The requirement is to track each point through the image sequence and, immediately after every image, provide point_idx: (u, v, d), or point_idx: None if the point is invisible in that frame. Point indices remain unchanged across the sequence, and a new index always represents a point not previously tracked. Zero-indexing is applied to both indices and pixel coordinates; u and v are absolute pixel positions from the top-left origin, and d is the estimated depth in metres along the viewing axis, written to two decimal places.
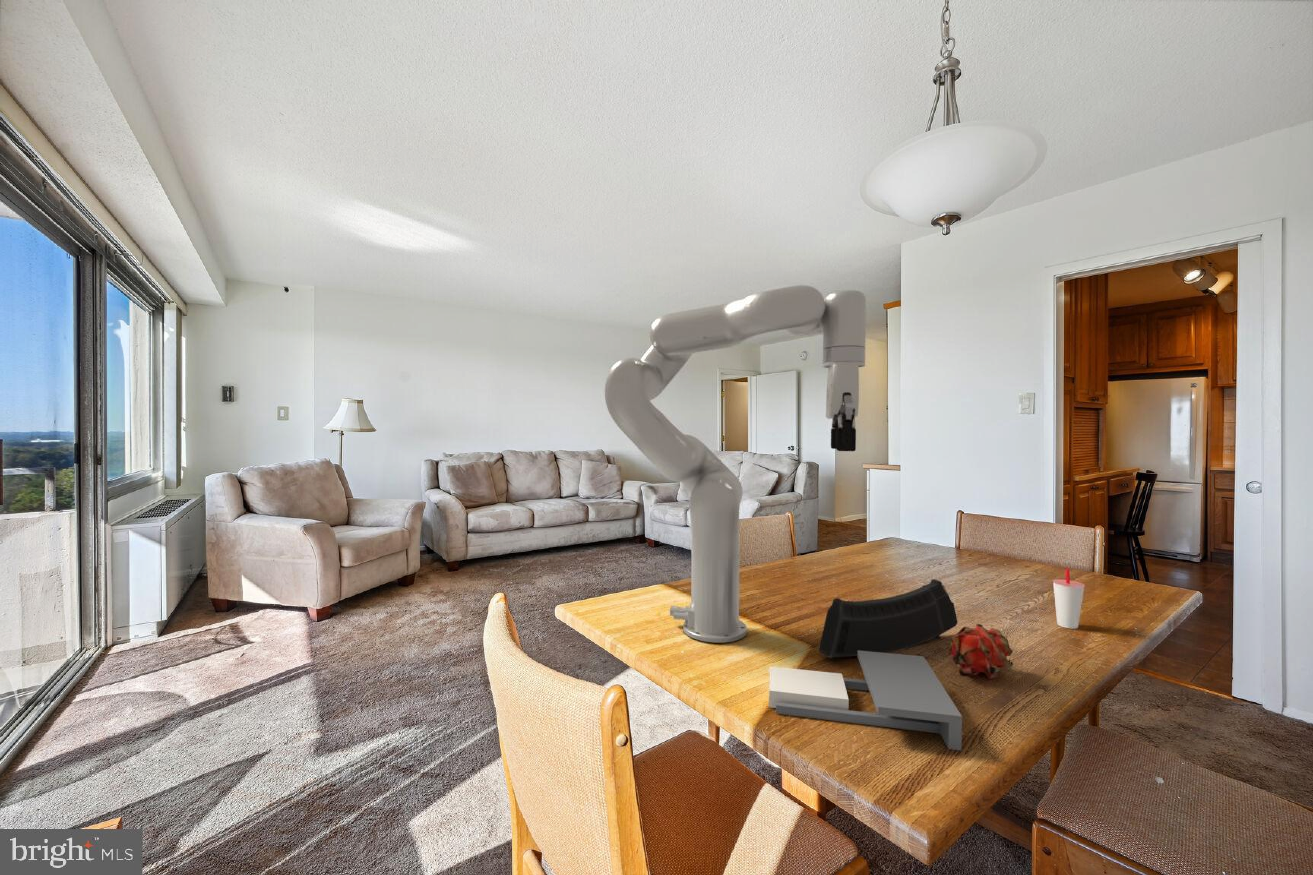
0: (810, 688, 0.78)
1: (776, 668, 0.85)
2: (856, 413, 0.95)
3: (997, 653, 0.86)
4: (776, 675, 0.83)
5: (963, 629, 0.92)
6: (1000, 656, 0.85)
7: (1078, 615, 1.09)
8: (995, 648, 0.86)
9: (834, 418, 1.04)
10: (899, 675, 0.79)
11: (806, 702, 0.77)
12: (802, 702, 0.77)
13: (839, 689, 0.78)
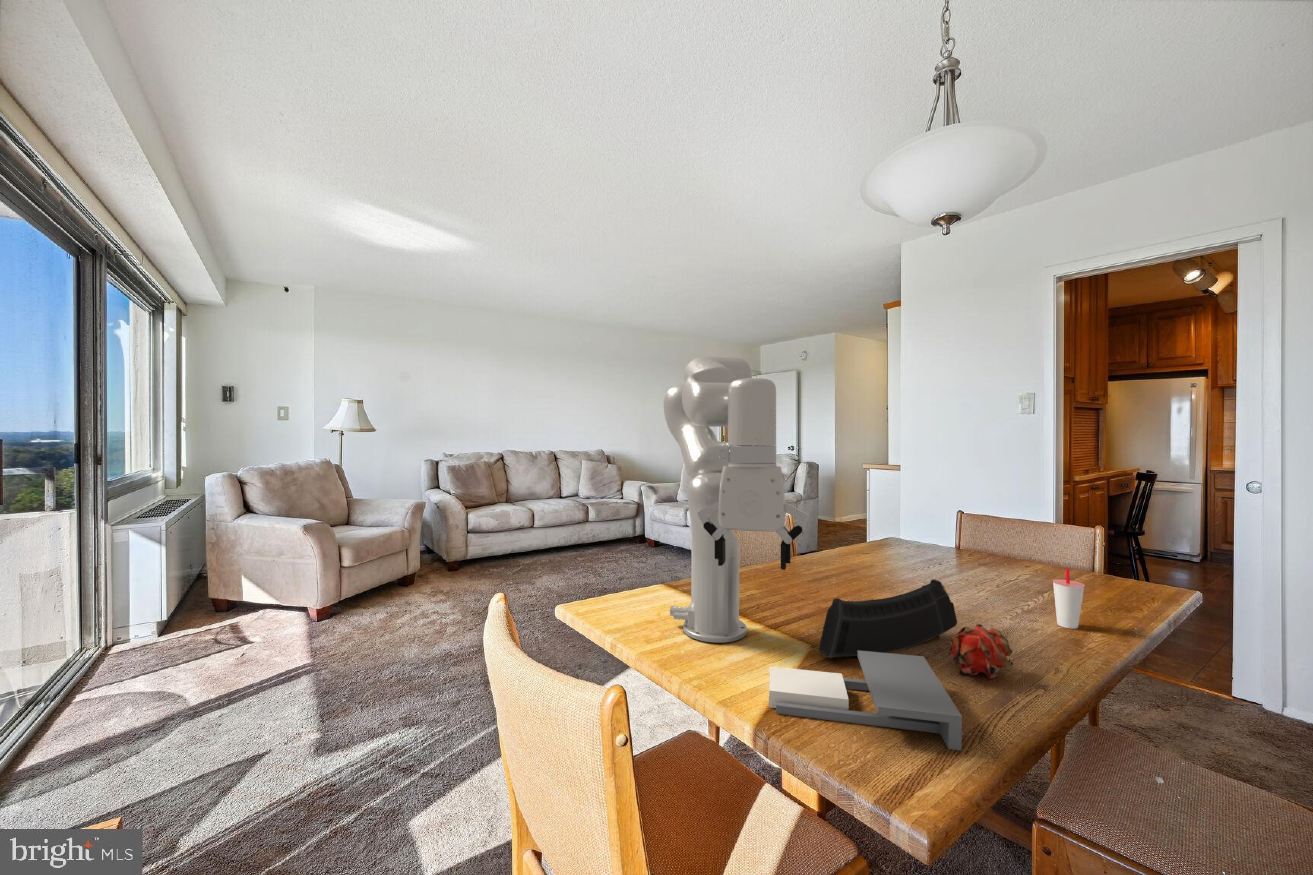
0: (810, 688, 0.78)
1: (776, 668, 0.85)
2: None
3: (997, 653, 0.86)
4: (776, 675, 0.83)
5: (963, 629, 0.92)
6: (1000, 656, 0.85)
7: (1078, 615, 1.09)
8: (995, 648, 0.86)
9: None
10: (899, 675, 0.79)
11: (806, 702, 0.77)
12: (802, 702, 0.77)
13: (839, 689, 0.78)
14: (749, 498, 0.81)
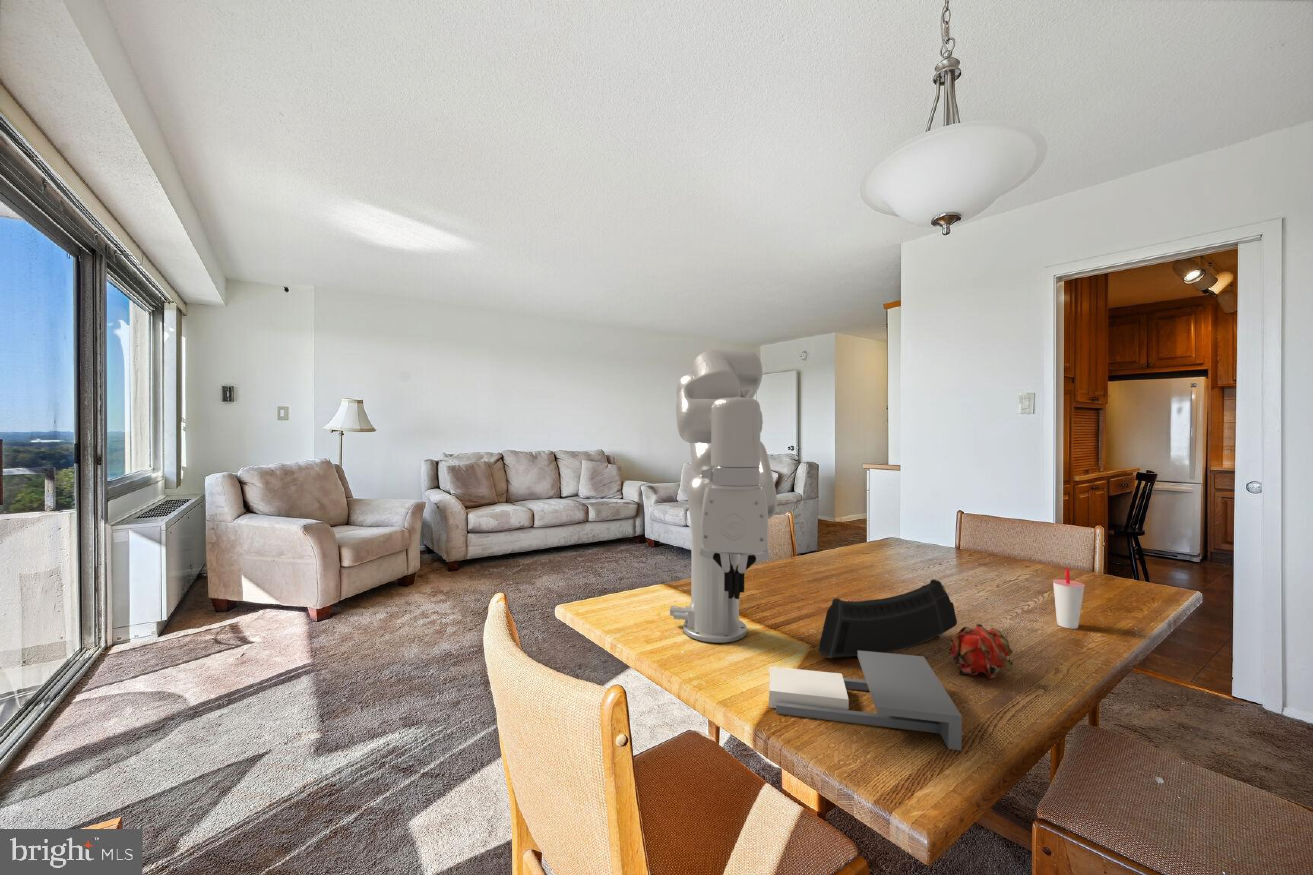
0: (810, 688, 0.78)
1: (776, 668, 0.85)
2: None
3: (997, 653, 0.86)
4: (776, 675, 0.83)
5: (963, 629, 0.92)
6: (1000, 656, 0.85)
7: (1078, 615, 1.09)
8: (995, 648, 0.86)
9: None
10: (899, 675, 0.79)
11: (806, 702, 0.77)
12: (802, 702, 0.77)
13: (839, 689, 0.78)
14: (732, 521, 0.80)
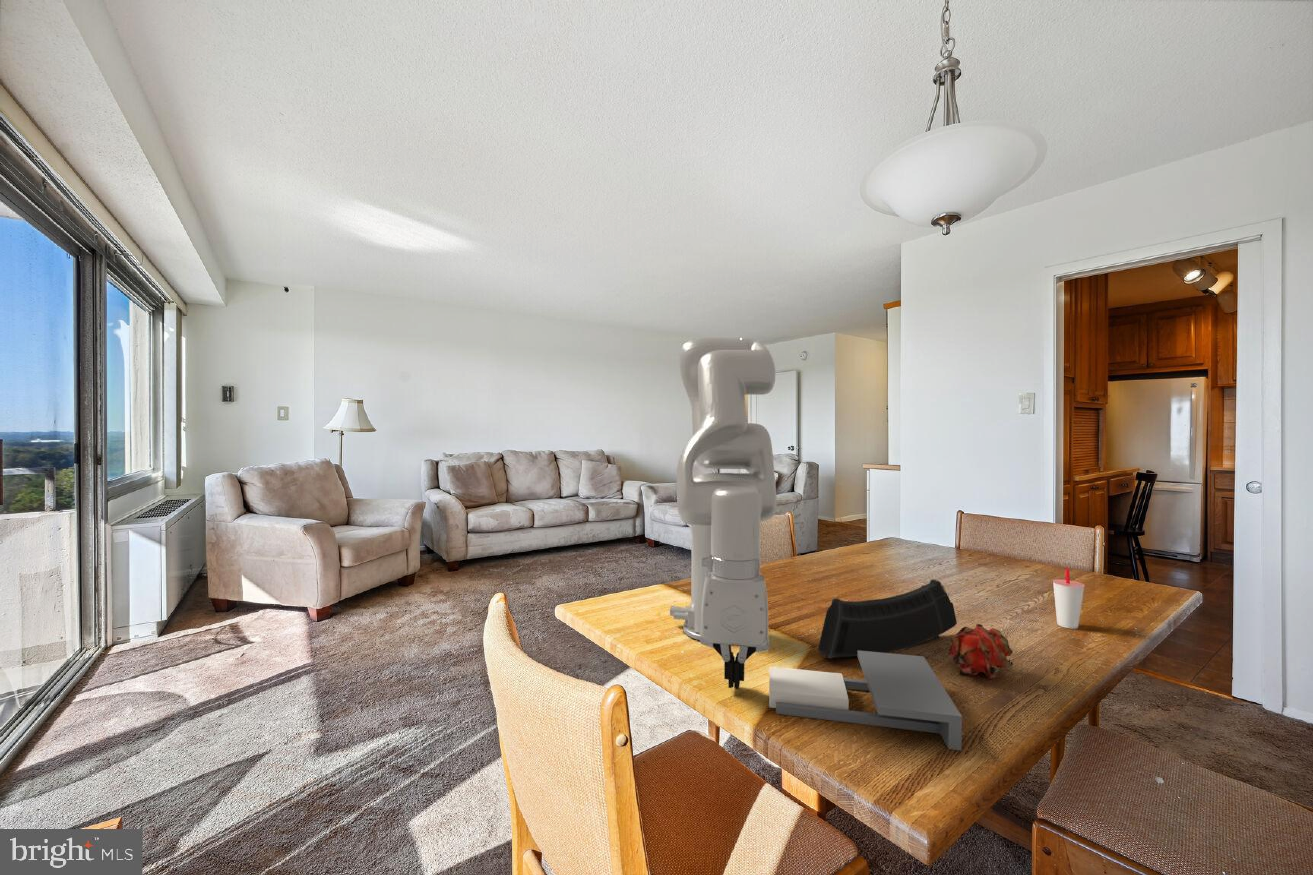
0: (810, 688, 0.78)
1: (776, 668, 0.85)
2: None
3: (997, 653, 0.86)
4: (776, 675, 0.83)
5: (963, 629, 0.92)
6: (1000, 656, 0.85)
7: (1078, 615, 1.09)
8: (995, 648, 0.86)
9: None
10: (899, 675, 0.79)
11: (806, 702, 0.77)
12: (802, 702, 0.77)
13: (839, 689, 0.78)
14: (732, 612, 0.80)
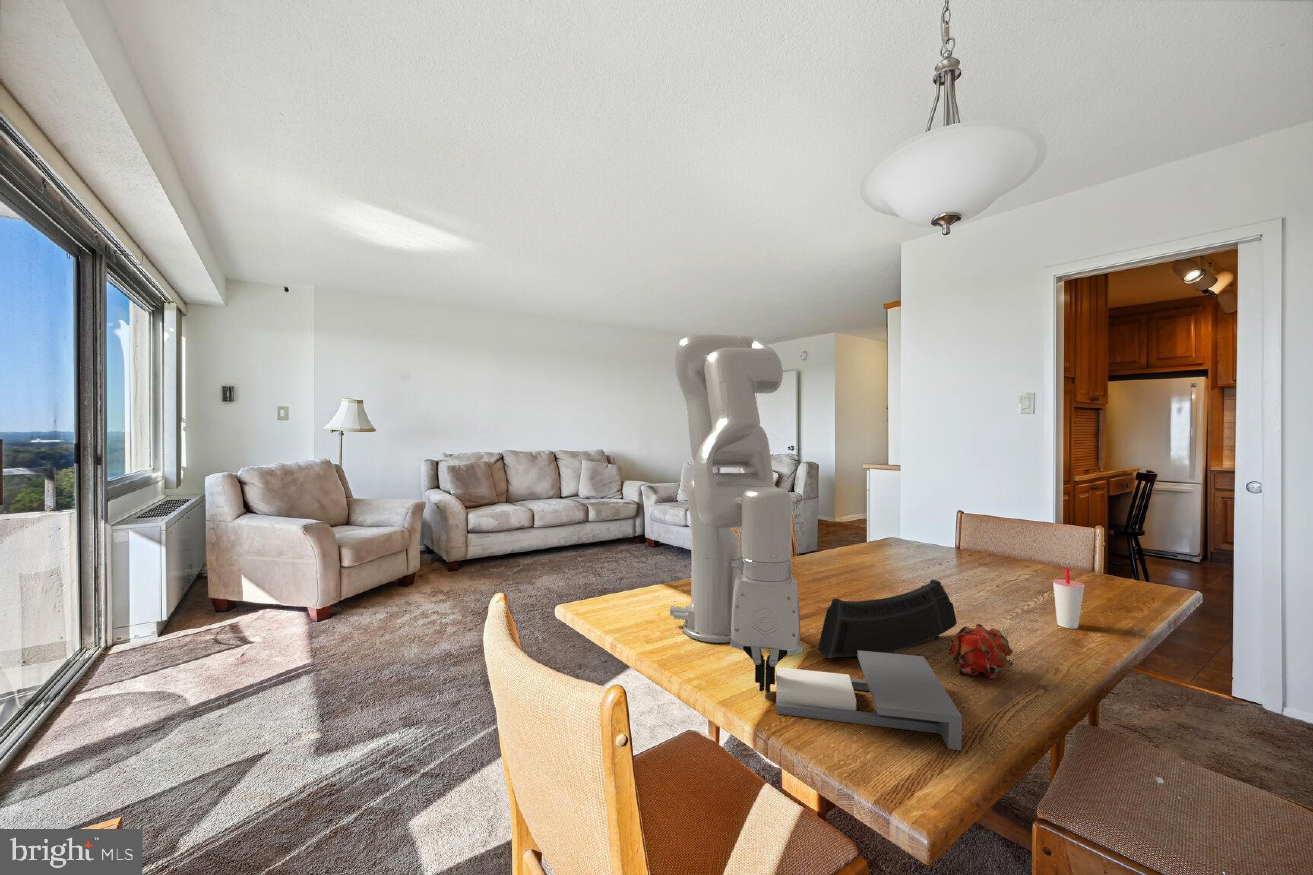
0: (817, 689, 0.78)
1: (783, 669, 0.85)
2: None
3: (997, 653, 0.86)
4: (783, 675, 0.82)
5: (963, 629, 0.92)
6: (1000, 656, 0.85)
7: (1078, 615, 1.09)
8: (995, 648, 0.86)
9: None
10: (899, 675, 0.79)
11: (813, 703, 0.76)
12: (809, 703, 0.77)
13: (846, 690, 0.78)
14: (764, 615, 0.79)
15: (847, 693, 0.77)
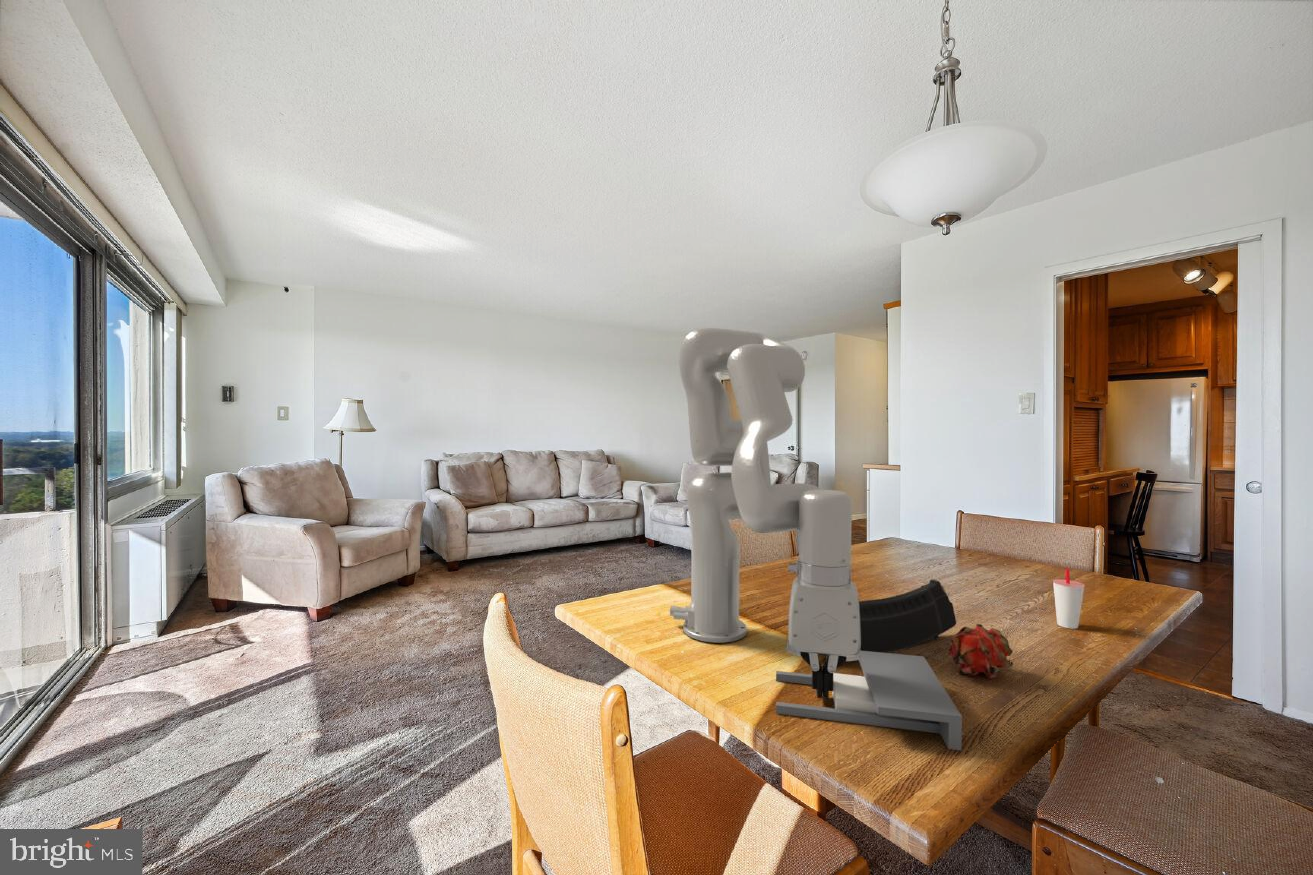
0: None
1: (839, 675, 0.83)
2: None
3: (997, 653, 0.86)
4: (840, 682, 0.81)
5: (963, 629, 0.92)
6: (1000, 656, 0.85)
7: (1078, 615, 1.09)
8: (995, 648, 0.86)
9: None
10: (899, 675, 0.79)
11: (875, 710, 0.75)
12: (871, 710, 0.75)
13: None
14: (824, 620, 0.77)
15: None
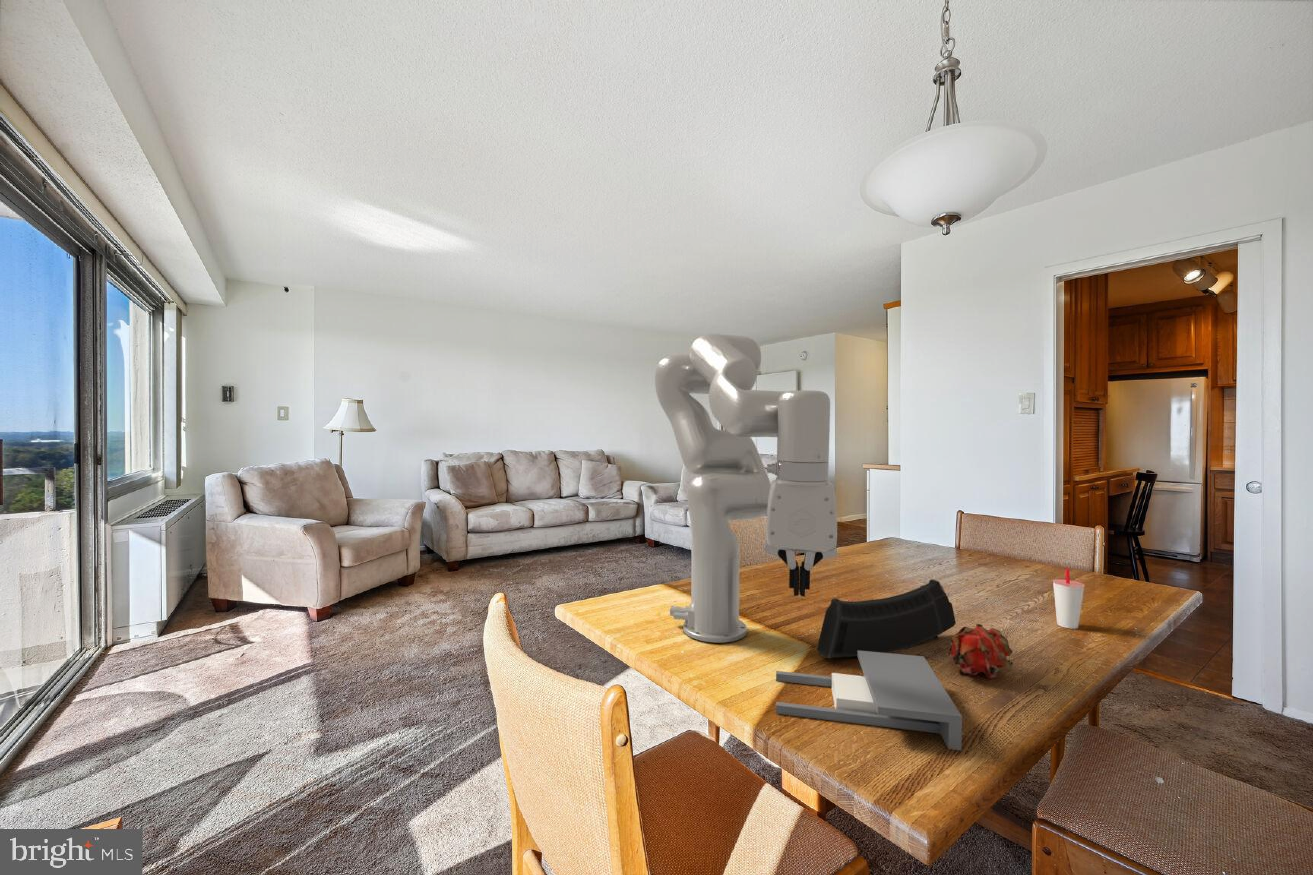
0: None
1: (839, 675, 0.83)
2: None
3: (997, 653, 0.86)
4: (840, 682, 0.81)
5: (963, 629, 0.92)
6: (1000, 656, 0.85)
7: (1078, 615, 1.09)
8: (995, 648, 0.86)
9: None
10: (899, 675, 0.79)
11: (876, 710, 0.75)
12: (871, 710, 0.75)
13: None
14: (801, 517, 0.78)
15: None
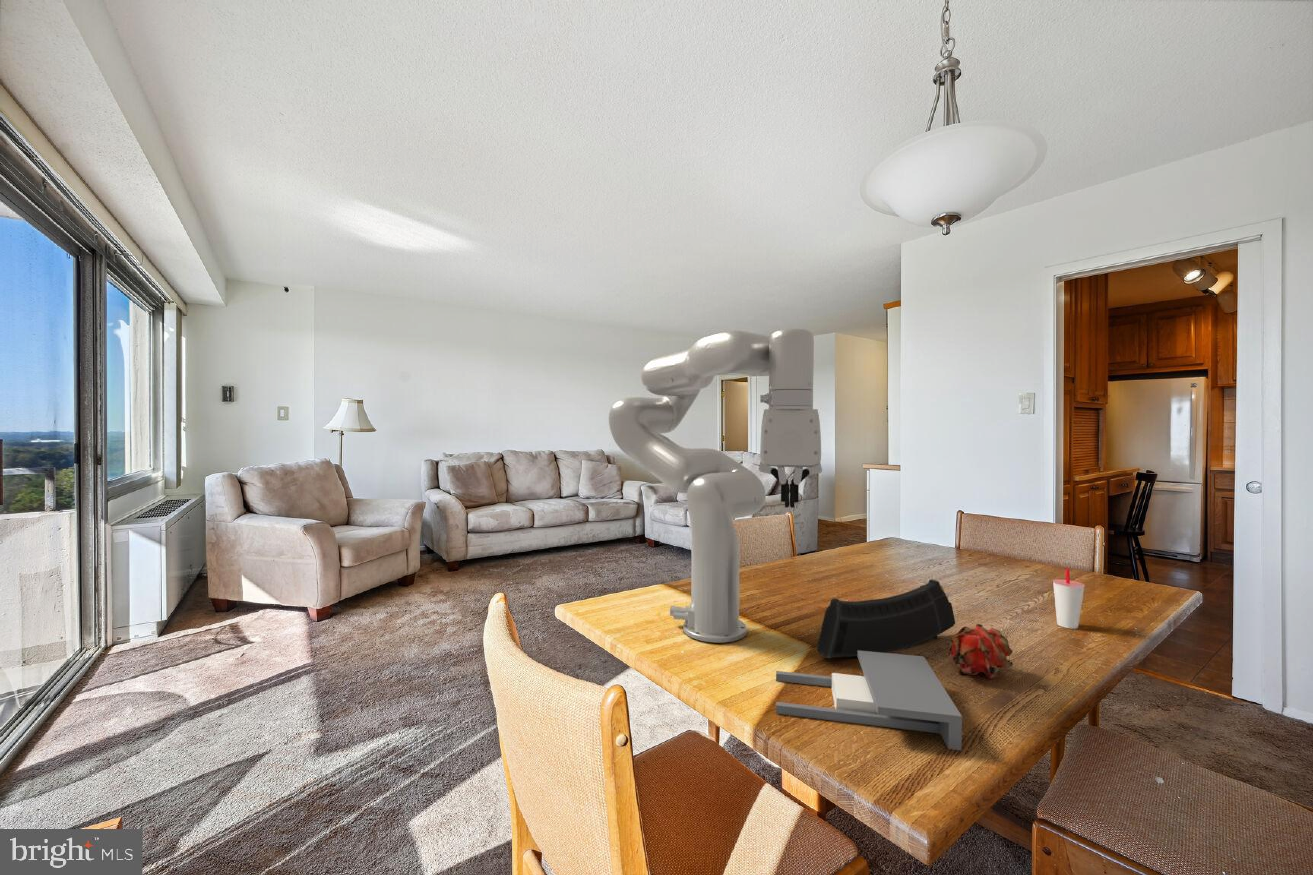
0: None
1: (839, 675, 0.83)
2: None
3: (997, 653, 0.86)
4: (840, 682, 0.81)
5: (963, 629, 0.92)
6: (1000, 656, 0.85)
7: (1078, 615, 1.09)
8: (995, 648, 0.86)
9: (784, 467, 0.92)
10: (899, 675, 0.79)
11: (876, 710, 0.75)
12: (871, 710, 0.75)
13: None
14: (789, 437, 0.90)
15: None
